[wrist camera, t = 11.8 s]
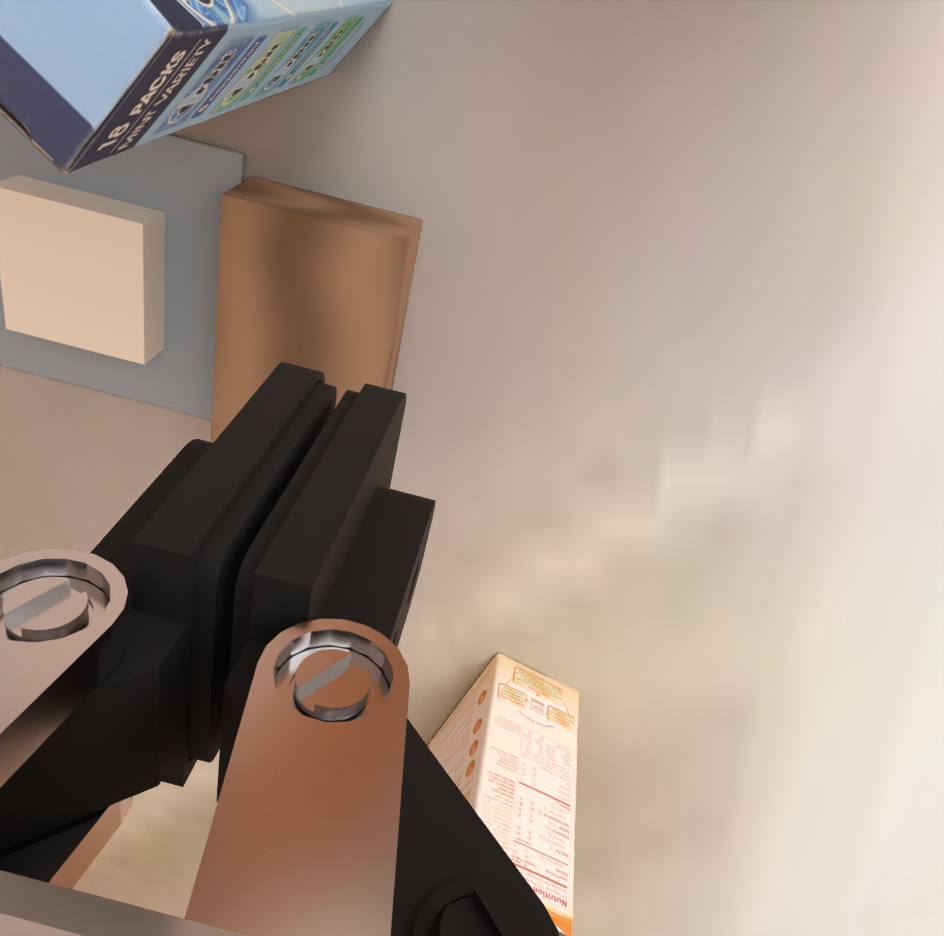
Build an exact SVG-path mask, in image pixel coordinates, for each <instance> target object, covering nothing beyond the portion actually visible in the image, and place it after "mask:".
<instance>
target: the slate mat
mask: <svg viewBox="0 0 944 936" xmlns="http://www.w3.org/2000/svg"><path fill="white" fill-rule="evenodd" d="M243 168H244V154H243V153H239V152H235V151H232V150H228V149H224V148H220V147H216V146H212V145H208V144H204V143H201V142H197V141H193V140H189V139H185V138H181V137H177V136H173V135H169V134H168V135H165V136H162V137H160V138H157V139H154V140H151V141H149V142H147V143H144V144H141V145H139V146H136V147H133V148H130V149H128V150H126V151H123V152H121V153H119V154H116V155H113V156H110V157H107V158H105V159H102V160H99V161H96V162H94V163H92V164H89V165H87V166H85V167H83V168H80V169H78V170H75V171H72V172H70V173H68V174H64V173H62V172H60V171H59V170H58V169H56V168H55V167H54V166H53V165H52V164H51V163H50V162H49V161H48V160H47V159H46V158H45V157H43V156H42V155H41V154H40V153H39V151H38V150H37V149H36V148H35V147H34V146H33V145H32V144H31V143H30V142H29V141H28V140H27V139H26V138H25V137H24V136H23V135H22V134H21V133H20V132H19V131H18V130H17V129H16V128H15V127H14V126H13V125H12V124H11V123H10V122H9V121H8V120H7V119H6V118H5V117H4V116H2V115H1V114H0V181H2V180H5V179H8V178H11V177H14V176H17V175H22V176H26V177H30V178H34V179H38V180H41V181H45V182H49V183H53V184H57V185H61V186H65V187H69V188H72V189H76V190H80V191H84V192H88V193H92V194H96V195H100V196H103V197H107V198H111V199H115V200H119V201H123V202H127V203H131V204H134V205H138V206H142V207H146V208H150V209H154V210H158V211H162V212H165V286H164V348H163V349H162V350H161V351H160V352H159V353H158V354H156V355H155V356H154V357H153V358H152V359H151V360H149V361H148V362H147V363H146V364H145V365H144V364H140V363H136V362H132V361H128V360H124V359H120V358H117V357H113V356H109V355H105V354H101V353H97V352H93V351H89V350H86V349H82V348H78V347H74V346H70V345H66V344H62V343H59V342H55V341H51V340H47V339H43V338H39V337H35V336H32V335H28V334H24V333H20V332H16V331H12V330H8V329H6V324H5V315H4V306H3V297H2V288H1V279H0V365H2V366H6V367H9V368H13V369H17V370H21V371H25V372H29V373H33V374H37V375H40V376H44V377H48V378H52V379H56V380H60V381H64V382H67V383H71V384H75V385H79V386H83V387H87V388H91V389H94V390H98V391H102V392H106V393H110V394H114V395H118V396H121V397H125V398H129V399H133V400H137V401H141V402H145V403H148V404H152V405H156V406H160V407H164V408H168V409H172V410H175V411H179V412H183V413H187V414H191V415H195V416H199V417H202V418H206V419H210V420H212V407H213V383H214V359H215V334H216V310H217V286H218V262H219V237H220V213H221V194H223V193H224V192H226V191H228V190H230V189H231V188H233V187H235V186H237V185H238V184H240V183H242V182H243Z"/></svg>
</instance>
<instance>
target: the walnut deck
mask: <svg viewBox="0 0 944 936" xmlns="http://www.w3.org/2000/svg"><path fill="white" fill-rule="evenodd" d="M421 225H422V220H421V219H417V218H413V217H409V216H405V215H401V214H398V213H394V212H390V211H386V210H382V209H378V208H374V207H370V206H366V205H363V204H359V203H355V202H351V201H347V200H343V199H339V198H335V197H331V196H328V195H324V194H320V193H316V192H312V191H308V190H304V189H300V188H296V187H293V186H289V185H285V184H281V183H277V182H273V181H269V180H265V179H262V178H258V177H254V176H252V177H250V178H249V179H247V180H245V181H243V182H242V183H240V184H238V185H237V186H235V187H233V188H231V189H230V190H228V191H226V192H224V193H223V194H221V213H220V237H219V262H218V286H217V310H216V334H215V359H214V383H213V407H212V432H211V442H212V443H213V442H214V441H215V440H216V439H217V438H218V436H219V435H220V434H221V433H222V432H223V430H224V429H225V428H226V427H227V426H228V424H229V423H230V422H231V421H232V420H233V418H234V417H235V416H236V415H237V414H238V412H239V411H240V410H241V409H242V408H243V406H244V405H245V404H246V403H247V402H248V400H249V399H250V398H251V397H252V396H253V394H254V393H255V392H256V391H257V390H258V388H259V387H260V386H261V385H262V384H263V382H264V381H265V380H266V379H267V378H268V376H269V375H270V374H271V373H272V372H273V370H274V369H275V368H276V367H277V366H278V364H280V363H281V362H286V363H290V364H293V365H297V366H301V367H305V368H309V369H313V370H317V371H321V372H323V373H324V375H325V384H328V385H332V386H336V388H337V397H336V405H335V408H336V406H337V405H338V403H339V402H340V400H341V398H342V397H343V395H344V393H345V392H346V391H347V390H351V391H355V392H359V393H360V391H361V389H362V387H363V386H364V385H365V383H367V384H371V385H375V386H379V387H382V388H386V389H390V390H392V387H393V382H394V376H395V370H396V365H397V359H398V354H399V348H400V342H401V337H402V331H403V326H404V320H405V314H406V309H407V303H408V298H409V292H410V286H411V281H412V275H413V270H414V264H415V258H416V253H417V247H418V242H419V236H420V230H421Z"/></svg>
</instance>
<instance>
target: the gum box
mask: <svg viewBox="0 0 944 936" xmlns="http://www.w3.org/2000/svg"><path fill="white" fill-rule="evenodd" d="M391 3H392V0H0V114H1V115H2V116H4V117H5V118H6V119H7V120H8V121H9V122H10V123H11V124H12V125H13V126H14V127H15V128H16V129H17V130H18V131H19V132H20V133H21V134H22V135H23V136H24V137H25V138H26V139H27V140H28V141H29V142H30V143H31V144H32V145H33V146H34V147H35V148H36V149H37V150H38V151H39V153H40V154H41V155H42V156H43V157H45V158H46V159H47V160H48V161H49V162H50V163H51V164H52V165H53V166H54V167H55V168H56V169H58V170H59V171H60V172H62V173H64V174H68V173H70V172H72V171H75V170H78V169H80V168H83V167H85V166H87V165H89V164H92V163H94V162H96V161H99V160H102V159H105V158H107V157H110V156H113V155H116V154H119V153H121V152H123V151H126V150H128V149H130V148H133V147H136V146H139V145H141V144H144V143H147V142H149V141H151V140H154V139H157V138H160V137H162V136H165V135H168V134H171V133H173V132H176V131H178V130H181V129H184V128H186V127H189V126H192V125H195V124H198V123H201V122H204V121H206V120H209V119H211V118H214V117H216V116H219V115H222V114H224V113H227V112H229V111H232V110H234V109H237V108H240V107H242V106H245V105H248V104H251V103H253V102H256V101H259V100H261V99H264V98H267V97H269V96H272V95H274V94H277V93H280V92H282V91H285V90H288V89H291V88H293V87H296V86H299V85H302V84H305V83H308V82H310V81H313V80H315V79H318V78H321V77H325V76H327V75H329V74H330V73H331V72H332V71H333V70H334V68H335V67H336V66H337V65H338V64H339V63H340V62H341V60H342V59H343V58H344V57H345V56H346V55H347V54H348V52H349V51H350V50H351V49H352V48H353V47H354V46H355V44H356V43H357V42H358V41H359V40H360V39H361V37H362V36H363V35H364V34H365V33H366V32H367V30H368V29H369V28H370V27H371V26H372V25H373V23H374V22H375V21H376V20H377V19H378V18H379V17H380V16H381V15H382V14H383V12H384V11H385V10H386V9H387V8H388V7H389V6H390V5H391Z"/></svg>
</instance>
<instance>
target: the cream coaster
mask: <svg viewBox="0 0 944 936" xmlns="http://www.w3.org/2000/svg"><path fill="white" fill-rule="evenodd" d="M0 279H1V288H2V297H3V306H4V315H5V324H6V329H8V330H12V331H16V332H20V333H24V334H28V335H32V336H35V337H39V338H43V339H47V340H51V341H55V342H59V343H62V344H66V345H70V346H74V347H78V348H82V349H86V350H89V351H93V352H97V353H101V354H105V355H109V356H113V357H117V358H120V359H124V360H128V361H132V362H136V363H140V364H144V365H145V364H146V363H147V362H148V361H149V360H151V359H152V358H153V357H154V356H155V355H156V354H158V353H159V352H160V351H161V350H162V349H163V348H164V286H165V212H162V211H158V210H154V209H150V208H146V207H142V206H138V205H134V204H131V203H127V202H123V201H119V200H115V199H111V198H107V197H103V196H100V195H96V194H92V193H88V192H84V191H80V190H76V189H72V188H69V187H65V186H61V185H57V184H53V183H49V182H45V181H41V180H38V179H34V178H30V177H26V176H22V175H17V176H14V177H11V178H8V179H5V180H2V181H0Z"/></svg>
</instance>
